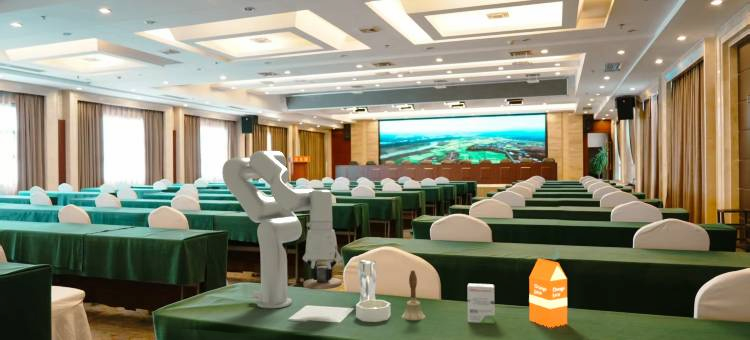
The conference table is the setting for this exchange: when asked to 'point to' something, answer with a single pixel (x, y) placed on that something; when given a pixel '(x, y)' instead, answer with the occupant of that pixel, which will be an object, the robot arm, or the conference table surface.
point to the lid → (322, 280)
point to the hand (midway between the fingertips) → (322, 279)
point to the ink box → (481, 303)
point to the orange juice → (548, 294)
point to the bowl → (373, 310)
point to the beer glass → (367, 279)
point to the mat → (321, 314)
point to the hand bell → (413, 302)
